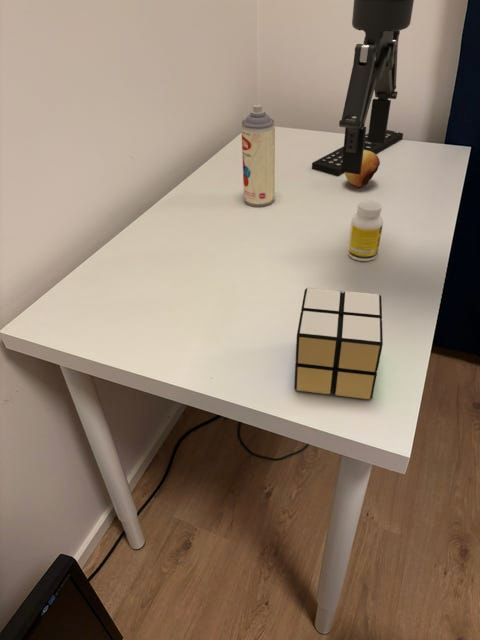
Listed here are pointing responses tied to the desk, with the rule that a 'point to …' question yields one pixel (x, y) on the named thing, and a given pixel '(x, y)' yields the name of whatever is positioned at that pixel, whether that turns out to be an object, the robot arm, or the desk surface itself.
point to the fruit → (365, 169)
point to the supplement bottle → (365, 231)
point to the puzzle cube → (339, 343)
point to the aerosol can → (258, 158)
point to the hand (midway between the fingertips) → (364, 156)
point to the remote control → (334, 159)
